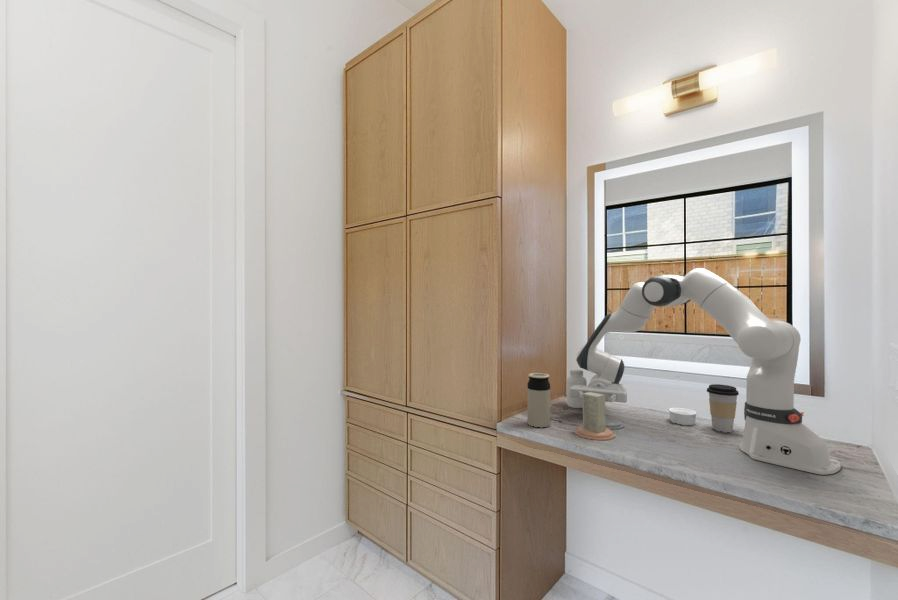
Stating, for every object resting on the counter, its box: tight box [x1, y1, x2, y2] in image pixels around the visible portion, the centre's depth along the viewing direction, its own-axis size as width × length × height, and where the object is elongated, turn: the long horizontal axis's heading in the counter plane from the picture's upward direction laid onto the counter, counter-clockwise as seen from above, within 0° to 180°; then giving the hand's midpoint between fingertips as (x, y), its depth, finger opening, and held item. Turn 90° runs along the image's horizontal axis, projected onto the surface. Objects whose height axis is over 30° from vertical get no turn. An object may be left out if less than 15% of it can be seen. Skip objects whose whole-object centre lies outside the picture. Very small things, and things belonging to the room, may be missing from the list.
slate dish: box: [605, 416, 625, 431], centre depth 151 cm, size 13×13×1 cm
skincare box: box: [582, 392, 606, 433], centre depth 140 cm, size 6×4×12 cm
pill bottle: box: [566, 369, 588, 409], centre depth 175 cm, size 8×8×15 cm
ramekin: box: [668, 407, 697, 426], centre depth 153 cm, size 9×9×4 cm
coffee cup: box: [705, 383, 740, 433], centre depth 144 cm, size 9×9×15 cm
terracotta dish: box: [573, 424, 616, 441], centre depth 140 cm, size 13×13×1 cm
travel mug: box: [526, 372, 551, 429], centre depth 149 cm, size 8×8×18 cm
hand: (596, 398), depth 149 cm, fingers open, 8 cm apart
